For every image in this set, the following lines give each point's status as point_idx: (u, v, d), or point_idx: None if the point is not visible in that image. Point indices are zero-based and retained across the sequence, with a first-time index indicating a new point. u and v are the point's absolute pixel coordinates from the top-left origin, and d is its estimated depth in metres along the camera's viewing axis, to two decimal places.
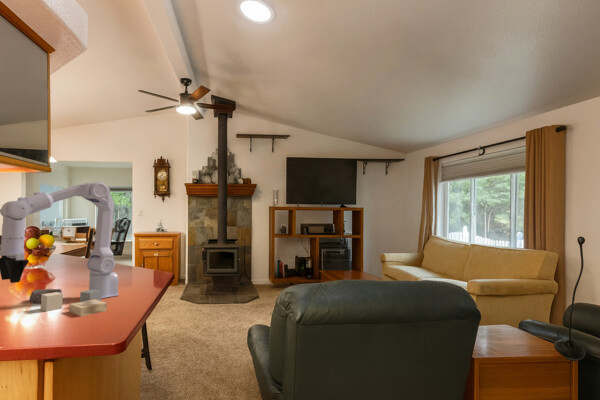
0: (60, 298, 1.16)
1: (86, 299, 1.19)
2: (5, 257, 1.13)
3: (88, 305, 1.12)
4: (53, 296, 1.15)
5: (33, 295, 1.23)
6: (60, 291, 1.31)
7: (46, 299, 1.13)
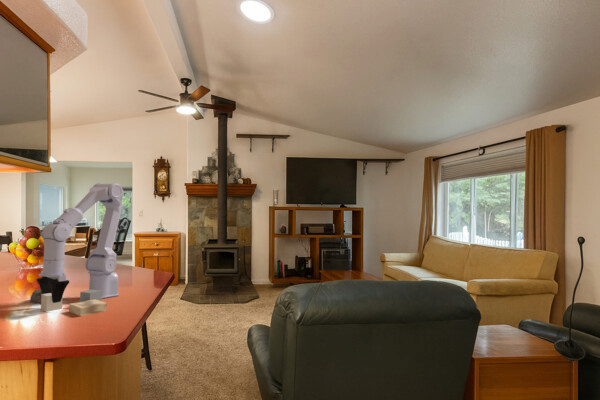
0: None
1: (86, 299, 1.19)
2: (46, 277, 1.18)
3: (88, 305, 1.12)
4: None
5: (34, 295, 1.23)
6: None
7: (46, 299, 1.13)
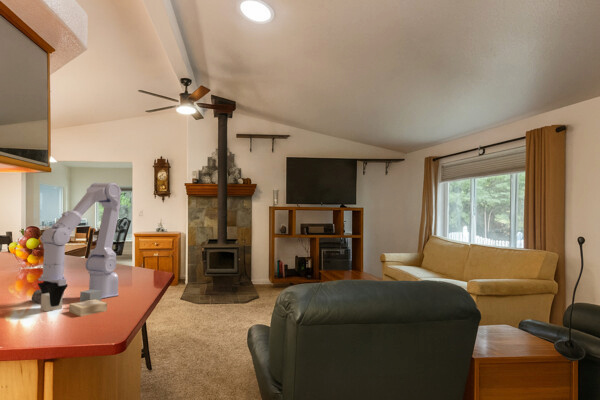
0: None
1: (86, 299, 1.19)
2: None
3: (88, 305, 1.12)
4: None
5: (35, 295, 1.23)
6: None
7: (46, 298, 1.13)
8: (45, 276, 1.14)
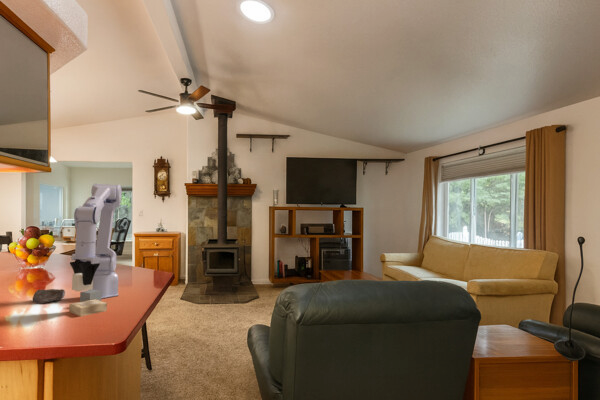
0: None
1: (86, 299, 1.19)
2: None
3: (88, 305, 1.12)
4: None
5: (36, 295, 1.23)
6: (63, 291, 1.30)
7: (77, 278, 1.12)
8: (78, 254, 1.13)
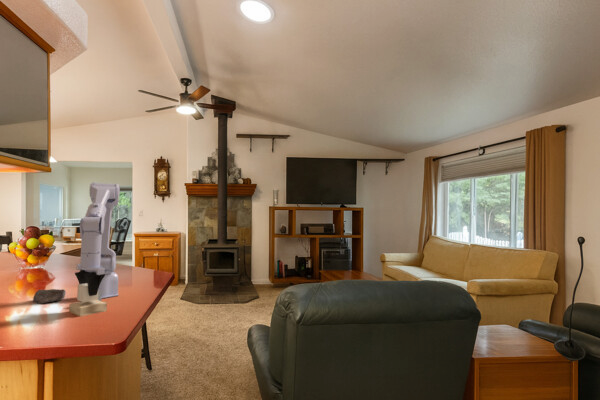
0: None
1: None
2: None
3: (88, 305, 1.12)
4: None
5: (36, 295, 1.23)
6: (64, 291, 1.30)
7: (83, 289, 1.11)
8: (83, 265, 1.12)
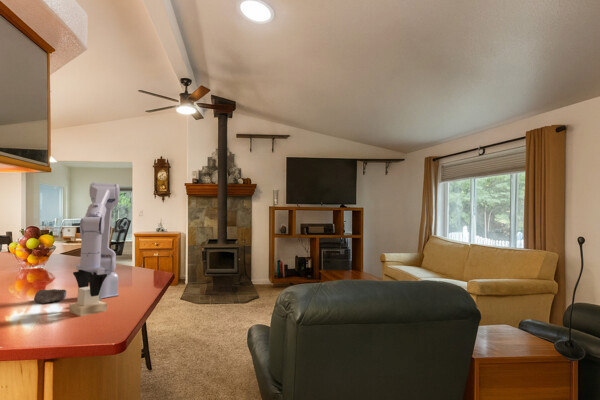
0: None
1: None
2: (82, 271, 1.17)
3: (88, 305, 1.12)
4: None
5: (37, 295, 1.23)
6: (65, 292, 1.30)
7: (84, 292, 1.12)
8: (83, 265, 1.12)
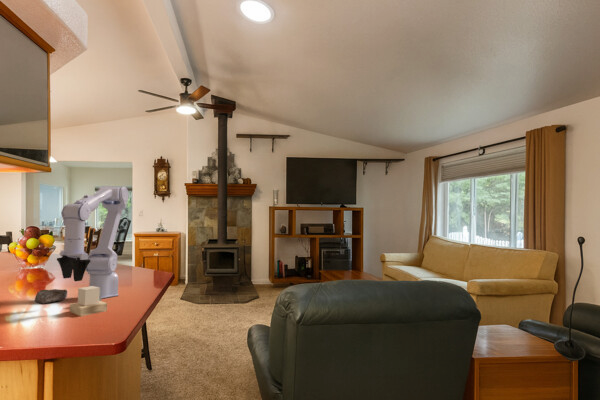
0: (97, 292, 1.15)
1: None
2: (66, 257, 1.19)
3: (88, 305, 1.12)
4: (91, 290, 1.13)
5: (38, 295, 1.23)
6: (65, 292, 1.30)
7: (84, 292, 1.12)
8: (66, 251, 1.15)
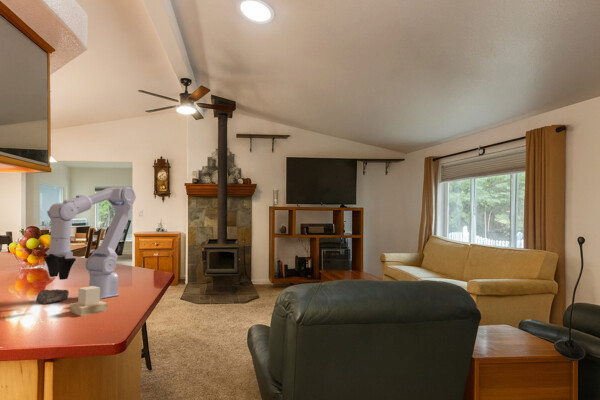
0: (98, 292, 1.15)
1: None
2: (52, 256, 1.21)
3: (89, 305, 1.12)
4: (91, 290, 1.13)
5: (39, 296, 1.23)
6: (67, 292, 1.30)
7: (85, 292, 1.12)
8: (52, 249, 1.16)
